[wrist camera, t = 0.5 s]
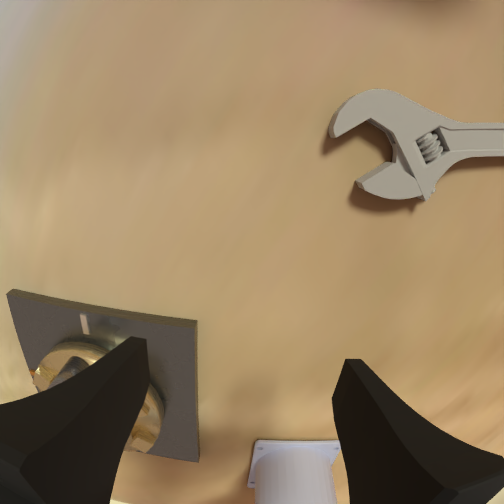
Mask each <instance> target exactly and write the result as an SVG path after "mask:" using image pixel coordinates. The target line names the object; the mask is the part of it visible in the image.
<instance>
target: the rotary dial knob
mask: <svg viewBox="0 0 504 504" xmlns="http://www.w3.org/2000/svg"><path fill="white" fill-rule="evenodd" d="M109 352H110V351H108V350H106V349H104V348H102V347H99V346H96V345H93V344H90V343H85V342H79V341H69V342H63V343H60V344H58V345H56V346H54V347H53V348H52V349H51V350H50V351H49V353H48V354H47V355H46V356H45V357H44V359H43V360H42V361H41V362H40V364H39V365H38V368H37V370H36V371H35V375H34V380H33V384H34V385H36V386H37V387H38V389H39V391H40V392H42V391H44V390H47V389H49V388H51V387H53V386H55V385H57V384H60V383H62V382H63V381H65V380H67V379H69V378H71V377H73V376H74V375H76V374H77V373H79V372H81V371H82V370H84V369H85V368H87V367H88V366H90V365H92V364H93V363H95V362H96V361H97V360H99V359H100V358H102V357H103V356H104V355H106V354H107V353H109ZM163 419H164V407H163V403H162V401H161V398H160V396H159V394H158V393H157V391H156V389H155V388H154V387H153V385H152V384H151V383H150V384H149V387H148V391H147V394H146V398H145V401H144V404H143V406H142V408H141V411H140V413H139V415H138V418H137V420H136V422H135V424H134V427H133V429H132V431H131V433H130V436H129V438H128V440H127V443H126V445H125V447H124V450H123V451H137V450H140V451H142V452H144V453H146V452H147V451H148V450H149V449H150V448H151V447H152V446H153V445H154V442H155V441H156V440H157V438H158V436H159V432H160V429H161V426H162V423H163Z"/></svg>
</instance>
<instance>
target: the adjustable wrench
mask: <svg viewBox="0 0 504 504" xmlns="http://www.w3.org/2000/svg"><path fill="white" fill-rule="evenodd" d="M364 121H368V122H369V123H371V124H372V125H374V126H375V127H377V128H379V129H380V130H382V131H383V132H385V133H386V135H387V137H388V139H389V142H390V143H391V145H392V147H393V157H392V162H384V163H383V164H381V165H379V166H378V167H376V168H375V169H373V170H371V171H370V172H368V173H366V174H365V175H363V176H361V177H360V178H358V179H357V180H355V181H356V183H357V185H358V187H359V188H361V189H363V190H365V191H367V192H369V193H372V194H374V195H377V196H380V197H383V198H388V199H408V198H413V197H417V198H419V199H421V200H424V201H427V200H428V199H429V198H430V195H431V194H432V193H434V192H435V191H436V189H435V187H434V186H435V184H436V182H437V181H438V179H439V178H440V177H441V176H442V175H443V174H444V173H445V172H446V171H447V170H448V169H449V168H450V167H451V166H452V165H453V164H455V163H456V162H458V161H460V160H462V159H465V158H470V157H484V156H504V123H464V122H458V121H455V120H452V119H449V118H447V117H445V116H442V115H440V114H438V113H436V112H433V111H431V110H429V109H427V108H425V107H423V106H421V105H419V104H418V103H416V102H414V101H412V100H410V99H408V98H406V97H405V96H403V95H401V94H399V93H397V92H394V91H391V90H386V89H370V90H367V91H364V92H362V93H359V94H357V95H354V96H352V97H350V98H349V99H348V100H346V101H345V102H344V103H342V105H341V106H340V107H339V108H338V109H337V111H336V112H335V113H334V114H333V117H332V119H331V122H330V125H329V128H328V131H329V135H330V137H331V138H336V137H338V136H340V135H342V134H343V133H345V132H347V131H348V130H350V129H352V128H354V127H355V126H357V125H359V124H360V123H362V122H364ZM432 131H433V133H434V134H432V133H431V132H432Z"/></svg>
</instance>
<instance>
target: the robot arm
mask: <svg viewBox="0 0 504 504" xmlns="http://www.w3.org/2000/svg"><path fill="white" fill-rule="evenodd" d="M149 384H150V371H149V362H148V351H147V340H146V339H144V338H139V337H133V336H130V337H129V338H127V339H126V340H125V341H123V342H122V343H121V344H119V345H118V346H117V347H115V348H114V349H113V350H111V351H110V352H109V353H107V354H106V355H104V356H103V357H102V358H100V359H99V360H97V361H96V362H95V363H93V364H92V365H90V366H88V367H87V368H85V369H84V370H82V371H81V372H79V373H77V374H76V375H74V376H73V377H71V378H69V379H67V380H65V381H63V382H62V383H60V384H57V385H55V386H53V387H51V388H49V389H47V390H44V391H42V392H39V393H37V394H34V395H31V396H29V397H26V398H23V399H20V400H16V401H13V402H9V403H5V404H0V504H109V503H110V498H111V493H112V489H113V485H114V481H115V477H116V473H117V469H118V466H119V462H120V459H121V455H122V453H123V450H124V447H125V445H126V443H127V440H128V438H129V436H130V433H131V431H132V429H133V427H134V424H135V422H136V420H137V418H138V415H139V413H140V411H141V408H142V406H143V404H144V401H145V398H146V394H147V391H148V387H149ZM332 405H333V414H334V422H335V426H336V430H337V434H338V438H339V440H326V441H280V440H257V441H256V442H255V446H254V451H253V457H252V462H251V468H250V473H249V478H248V483H247V486H248V487H249V488H255V504H337V498H336V492H335V486H334V480H333V474H332V469H331V466H332V464H333V463H334V461H335V459H336V457H337V455H338V453H339V451H340V449H341V450H342V454H343V458H344V462H345V466H346V471H347V477H348V486H349V497H350V504H486V503H487V502H488V501H489V500H491V499H492V498H493V497H494V496H495V495H496V494H497V493H498V492H499V491H500V490H501V489H502V488H503V487H504V458H503V457H502V456H500V455H497V454H494V453H490V452H487V451H484V450H481V449H479V448H476V447H474V446H472V445H469V444H467V443H465V442H463V441H461V440H459V439H457V438H455V437H453V436H451V435H449V434H448V433H446V432H444V431H442V430H441V429H439V428H438V427H436V426H435V425H433V424H432V423H430V422H429V421H427V420H426V419H425V418H423V417H422V416H421V415H419V414H418V413H417V412H415V411H414V410H413V409H412V408H411V407H410V406H408V405H407V404H406V403H405V402H404V401H403V400H402V399H400V398H399V397H398V396H397V395H396V394H395V393H394V392H393V391H392V390H391V389H390V388H389V387H388V386H387V385H386V384H385V383H384V382H383V381H382V380H381V379H380V378H379V377H378V376H377V375H376V374H375V373H374V372H373V371H372V370H371V369H370V368H369V367H368V366H367V365H366V364H365V363H364V362H363V361H362V360H361V359H345V362H344V365H343V368H342V371H341V374H340V377H339V380H338V382H337V385H336V388H335V391H334V394H333V396H332Z"/></svg>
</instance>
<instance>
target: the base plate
mask: <svg viewBox="0 0 504 504" xmlns="http://www.w3.org/2000/svg"><path fill="white" fill-rule="evenodd" d="M6 295H7V299H8V303H9V307H10V311H11V315H12V318H13V322H14V325H15V329H16V332H17V335H18V339H19V342H20V345H21V348H22V351H23V354H24V357H25V359H26V362H27V365H28V368H29V370H30V373H31V376H32V378H33V380H34V375H35V371H36V370H37V368H38V365H39V364H40V362H41V361H42V360H43V359H44V357H45V356H46V355H47V354H48V353H49V351H50V350H51V349H52V348H53V347H54V346H56V345H58V344H60V343H63V342H69V341H79V342H85V343H90V344H93V345H96V346H99V347H102V348H104V349H106V350H108V351H111V350H113V349H114V348H115V347H117V346H118V345H119V344H121V343H122V342H123V341H125V340H126V339H127V338H129V337H130V336H133V337H139V338H144V339H146V340H147V351H148V362H149V371H150V383H151V384H152V385H153V387H154V388H155V389H156V391H157V393H158V394H159V396H160V398H161V401H162V403H163V407H164V419H163V423H162V426H161V429H160V432H159V436H158V438H157V440H156V441H155V442H154V445H153V446H152V447H151V448H150V449H149V450H148V451H147V452H146V453H147V454H152V455H157V456H162V457H167V458H173V459H178V460H184V461H191V462H198V463H199V457H200V447H199V422H198V381H197V320H189V319H181V318H173V317H166V316H159V315H151V314H145V313H138V312H131V311H125V310H119V309H113V308H107V307H101V306H95V305H90V304H84V303H79V302H73V301H68V300H63V299H58V298H53V297H48V296H44V295H39V294H34V293H30V292H25V291H21V290H17V289H12V290H11V291H9V292H8V293H7V294H6ZM35 386H36V385H35ZM36 388H37V390H38V393H39V392H40V391H39V389H38V387H37V386H36ZM137 451H138V452H142V451H140V450H137ZM143 453H144V452H143Z"/></svg>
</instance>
